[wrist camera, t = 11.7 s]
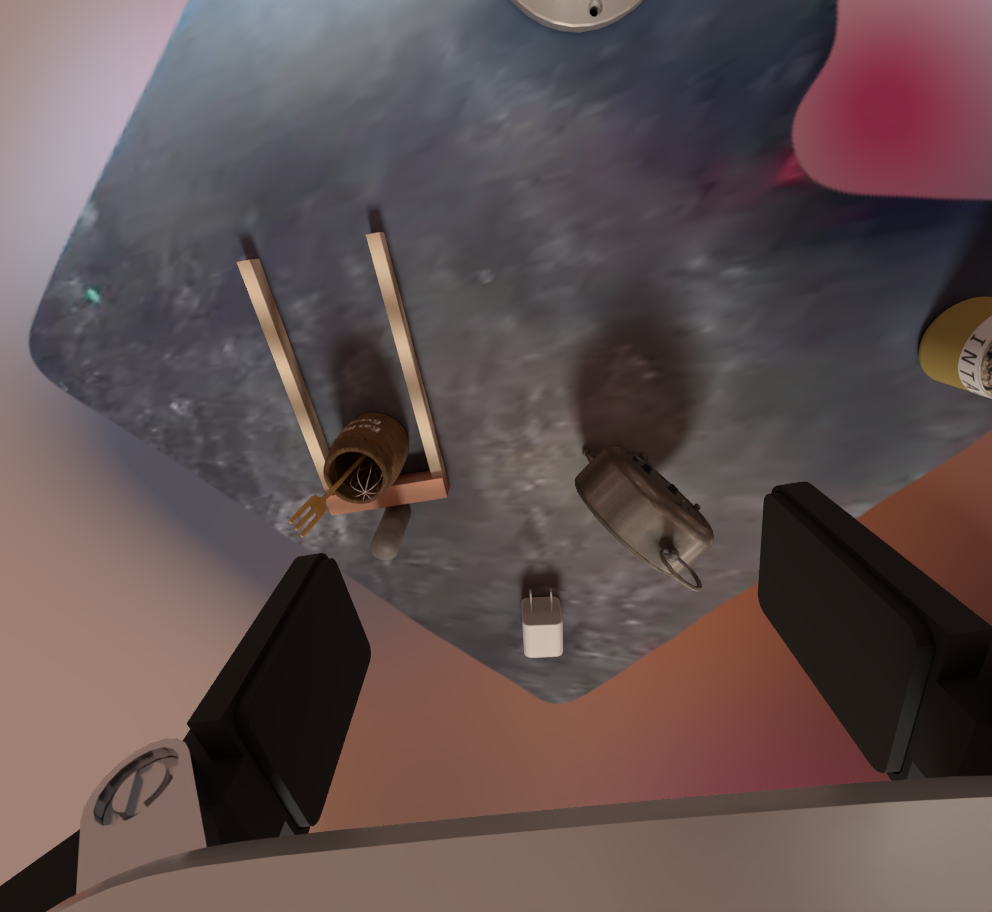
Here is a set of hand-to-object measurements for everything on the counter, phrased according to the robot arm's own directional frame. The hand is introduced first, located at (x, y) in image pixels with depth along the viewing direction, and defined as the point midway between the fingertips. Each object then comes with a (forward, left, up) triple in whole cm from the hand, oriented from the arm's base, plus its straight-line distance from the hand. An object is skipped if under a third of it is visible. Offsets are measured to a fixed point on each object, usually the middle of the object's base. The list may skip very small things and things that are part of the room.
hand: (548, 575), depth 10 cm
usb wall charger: (+29, -2, -31) cm, 42 cm away
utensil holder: (+7, -14, -31) cm, 34 cm away
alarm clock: (+14, +8, -31) cm, 34 cm away
